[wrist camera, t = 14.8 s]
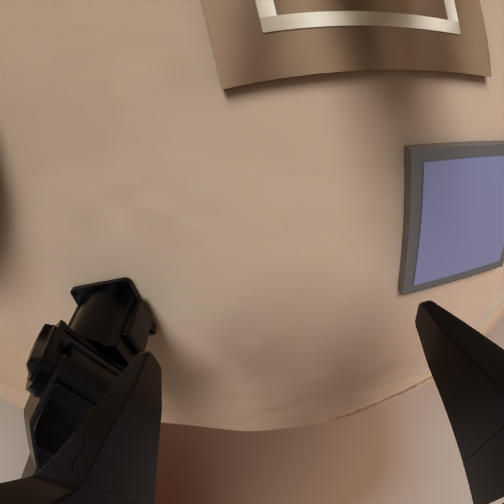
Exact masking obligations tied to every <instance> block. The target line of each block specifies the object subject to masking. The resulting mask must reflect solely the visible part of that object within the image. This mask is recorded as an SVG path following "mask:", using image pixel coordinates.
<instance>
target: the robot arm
mask: <svg viewBox="0 0 504 504" xmlns="http://www.w3.org/2000/svg"><path fill="white" fill-rule="evenodd" d="M124 283H126V284H127V285H126V284H124ZM71 295H72V296H73V298H74V300H75V301H76V303H77V304H78V306H77V308H76V310H75V312H74V314H73V316H72V318H71V320H70V322H69V324H68V326H67V324H66V323H65V322H64V321H62V320H60V321H59V322H58V324H57V325H56V326H55V325H49V324H45V325H44V326H43V328H42V329H41V331H40V333H39V335H38V337H37V339H36V341H35V343H34V345H33V347H32V350H31V353H30V355H29V358H28V361H27V364H26V366H27V369H28V377H27V384H26V390H27V391H29V392H30V393H31V394H30V396H29V399H28V401H27V403H26V406H25V408H24V419H25V426H26V433H27V439H28V444H29V450H30V455H29V458H28V460H27V463H26V466H25V469H24V471H23V474H22V477H21V479H17V480H13V481H9V482H4V483H0V504H155V496H156V477H157V460H158V446H159V434H160V423H161V412H162V371H161V367H160V365H159V363H158V362H157V360H156V359H155V357H154V356H153V354H152V353H151V352H149V351H147V352H144V351H145V347H146V344H147V340H148V336H149V335H154V334H156V330H157V328H156V326H155V325H154V323H153V319H152V317H151V316H150V314H149V312H148V310H147V308H146V306H145V305H144V303H143V301H142V300H141V299H140V297H139V295H138V293H137V291H136V290H135V288H134V286H133V284H132V282H131V280H130V279H128V278H119V279H113V280H108V281H103V282H97V283H92V284H87V285H81V286H76V287H73V288H72V290H71ZM415 324H416V328H417V331H418V334H419V337H420V341H421V344H422V347H423V350H424V354H425V357H426V360H427V363H428V366H429V369H430V371H431V373H432V376H433V378H434V381H435V383H436V386H437V388H438V390H439V393H440V396H441V399H442V401H443V404H444V407H445V409H446V412H447V415H448V418H449V421H450V423H451V426H452V429H453V432H454V435H455V438H456V441H457V444H458V448H459V451H460V454H461V457H462V461H463V465H464V468H465V472H466V476H467V479H468V483H469V487H470V491H471V495H472V499H473V504H489V503H491V502H493V501H496V500H498V499H500V498H502V497H504V349H502V348H501V347H499V346H498V345H497V344H495V343H494V342H492V341H491V340H489V339H488V338H486V337H485V336H484V335H482V334H481V333H479V332H478V331H476V330H475V329H473V328H472V327H470V326H469V325H468V324H466V323H465V322H463V321H462V320H460V319H459V318H457V317H456V316H454V315H453V314H451V313H450V312H448V311H446V310H445V309H443V308H442V307H440V306H439V305H437V304H436V303H434V302H433V301H425V302H422V303H420V304H419V306H418V311H417V315H416V320H415ZM502 504H504V503H502Z"/></svg>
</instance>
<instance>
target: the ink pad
mask: <svg viewBox="0 0 504 504" xmlns="http://www.w3.org/2000/svg"><path fill="white" fill-rule="evenodd" d="M404 153H405V202H404V226H403V241H402V254H401V264H400V274H399V283H398V290H399V291H400V293H401V295H406V294H410V293H414V292H418V291H421V290H425V289H429V288H432V287H436V286H439V285H443V284H446V283H450V282H453V281H456V280H460V279H463V278H466V277H470V276H473V275H476V274H479V273H482V272H485V271H488V270H492V269H495V268H498V267H501V266H503V262H504V141H470V142H449V143H434V144H421V145H409V146H404Z"/></svg>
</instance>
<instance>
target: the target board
mask: <svg viewBox="0 0 504 504" xmlns="http://www.w3.org/2000/svg"><path fill="white" fill-rule="evenodd" d="M201 4H202V8H203V12H204V16H205V20H206V25H207V29H208V33H209V37H210V41H211V45H212V50H213V54H214V58H215V62H216V66H217V71H218V75H219V79H220V83H221V87H222V89H227V88H231V87H236V86H241V85H246V84H251V83H256V82H262V81H268V80H274V79H280V78H287V77H294V76H302V75H310V74H320V73H331V72H343V71H361V70H426V71H443V72H455V73H465V74H473V75H481V76H488V77H491V66H490V57H489V49H488V42H487V35H486V30H485V24H484V19H483V14H482V9H481V5H480V1H479V0H201Z"/></svg>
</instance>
